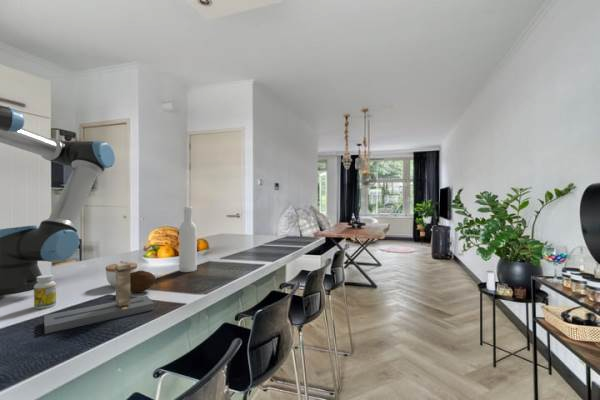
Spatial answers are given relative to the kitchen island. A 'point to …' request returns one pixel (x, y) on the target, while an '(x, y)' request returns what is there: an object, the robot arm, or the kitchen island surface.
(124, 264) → the fader tab
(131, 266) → the lidded jar
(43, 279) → the supplement bottle
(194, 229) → the bottle
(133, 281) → the potato
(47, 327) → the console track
